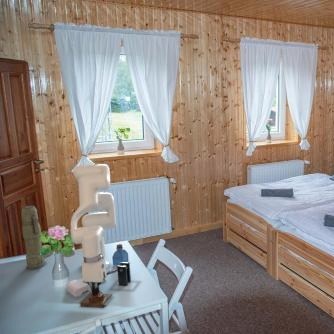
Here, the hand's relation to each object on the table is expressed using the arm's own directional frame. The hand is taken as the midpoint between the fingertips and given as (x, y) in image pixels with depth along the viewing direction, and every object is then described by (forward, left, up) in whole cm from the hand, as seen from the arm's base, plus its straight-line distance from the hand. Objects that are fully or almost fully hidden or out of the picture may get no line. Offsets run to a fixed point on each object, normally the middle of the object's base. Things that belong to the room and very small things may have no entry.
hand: (95, 294), depth 181 cm
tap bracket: (+7, +16, -4) cm, 18 cm away
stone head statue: (-53, +33, -4) cm, 63 cm away
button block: (0, 0, -4) cm, 4 cm away
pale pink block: (-15, +10, -5) cm, 18 cm away
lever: (+3, +16, +3) cm, 17 cm away
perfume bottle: (-5, +38, -4) cm, 39 cm away
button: (0, 0, -2) cm, 2 cm away
